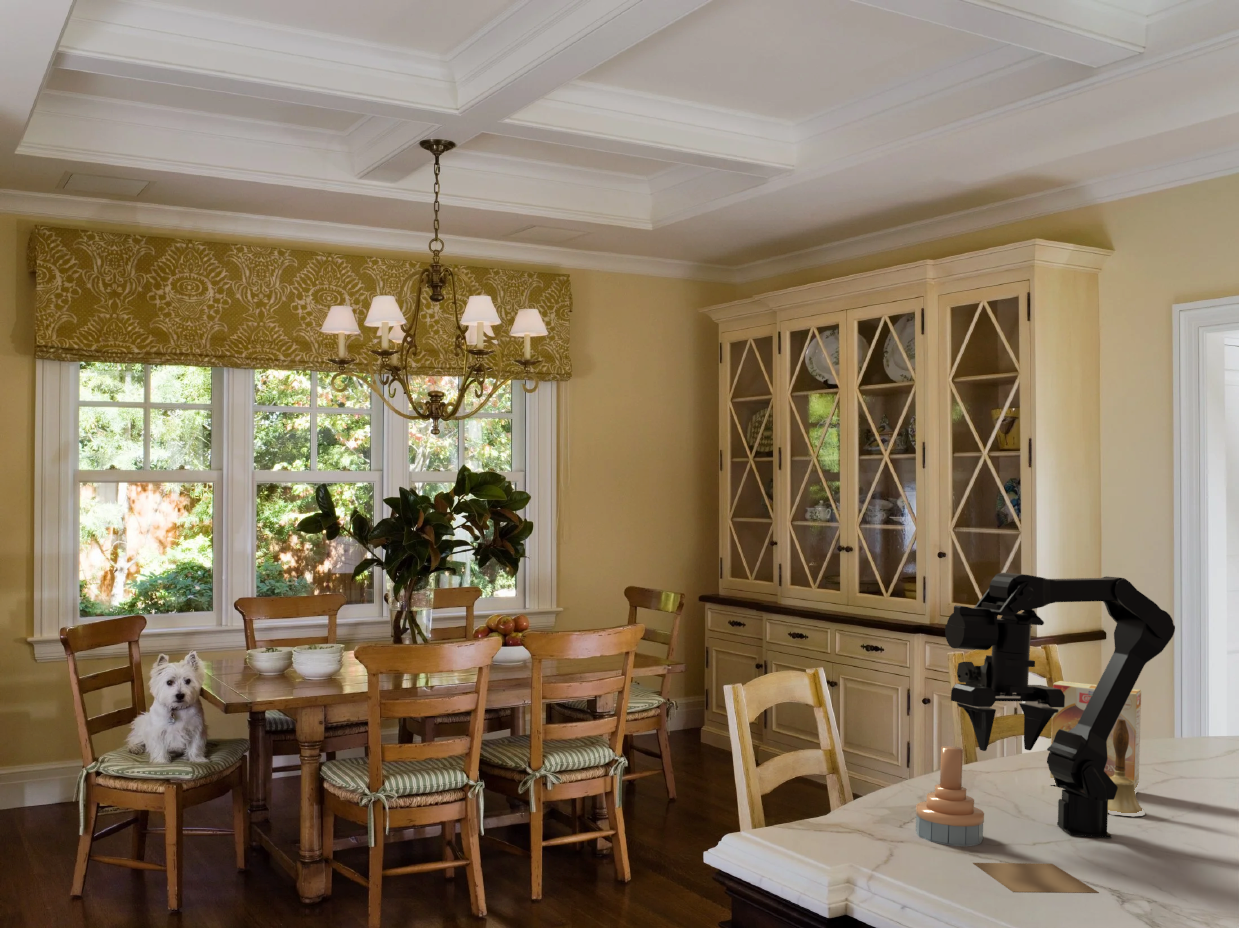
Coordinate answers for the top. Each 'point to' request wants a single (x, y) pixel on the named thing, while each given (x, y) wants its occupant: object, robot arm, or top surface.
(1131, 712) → the coffeecake box
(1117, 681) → the robot arm
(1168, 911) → the top surface
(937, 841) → the blue-grey faceted ring
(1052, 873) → the plate
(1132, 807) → the hand bell
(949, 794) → the lid
